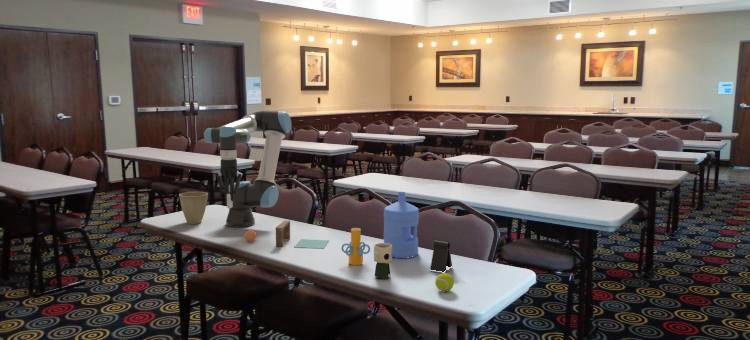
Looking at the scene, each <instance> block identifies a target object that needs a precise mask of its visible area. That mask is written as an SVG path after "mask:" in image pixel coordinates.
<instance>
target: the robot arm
mask: <svg viewBox="0 0 750 340" xmlns="http://www.w3.org/2000/svg"><path fill="white" fill-rule="evenodd" d="M291 119H292V118H291V116H290V114H289V113H288V112H286V111H282V110H259V111H256V112H251V113H249V114H246V115H244V116H243V117H242V118H241V119H238V120H235V121H232V122H230V123H227V124H224V125H221V126H218V127H207V128H206V129H205V130H204V132H203V139H204V141H205V142H206V143H208V144H220V145H219V146H220V147H219V148H220V149H219V152H220V155H219V156H220V157H219V158H220V169H219V171H218V172H216V173H215V174H214V175H215V176H216V178H217V182H218V185H219V190H220V193H222V194H224V200H225V202H226V206H227V207H226V208H227V209H228V213H227V216H226V220H225V225H226V226H227V227H230V228H247V227H251V225H252V226H254V225H255V224H256V223H255V222H256V221H255V217H254V214H253V211H252V207H256V208H264V209H265V208H272V207H273V206H275V205H276V204H277V202H278V199H279V195H280V193H279V188H278V187H277V182H275V177H276V172H277V165H278V161H279V157H280V156H279V155H280V152H281V147H282V146H281V145H282V141H283V140H284V139H285V138H286V134H289V133H290V132H291V129H292V120H291ZM253 132H262V133H264V135H265V141H264V147H263V150H262V151H263V152H262V155H261V161H260V164H259V165H260V167H259V172H258V175H257V178H255V179H254V180H253V181H254V182H253V184H252V183H251V181H249V180H246V181H244V180H243V181H241V179H242V177H243V174H244V173H242V172H239V170H238V160H237V158H238V156H237V155H238V151H237V150H238V149H237V146H238V145H245V144H247V143H249V142H250V141H251V137H252V136H251V133H253ZM222 176H223V177H222ZM235 176H236V180H235ZM223 180H224V181H223ZM253 224H254V225H253ZM246 226H247V227H246Z"/></svg>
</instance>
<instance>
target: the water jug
mask: <svg viewBox="0 0 750 340" xmlns="http://www.w3.org/2000/svg"><path fill="white" fill-rule="evenodd" d="M397 194H398V196H397V199H398V201H396V202H394V203H392V204H389V205H387V206H386V207H385V208H384V209H383V210H384V211H383V222H384V223H383V243H388V244H391V245H392V253H391V255H392V257H395V259H408V258H407V257H411V258H413V257H412V256H414V257H416V256H417V255H418V254H419V238H418V225H419V220H420V211H419V208H418V207H416V206H415V205H413V204H411V203H409V202H407V201H406V192H405V191H400V192H398V193H397ZM415 255H416V256H415Z"/></svg>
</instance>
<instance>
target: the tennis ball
mask: <svg viewBox="0 0 750 340" xmlns="http://www.w3.org/2000/svg"><path fill="white" fill-rule="evenodd" d="M434 283H435V286H436V288H437V289H438V290H439V291H440V290H441V291H440V292H443V291H447V292H449V291H452V289H453V287H454V284H455V282H454V278H453V277H452V275H450V274H449V273H447V272H446V273H439V274H438V275H437V277H436V278H435V282H434Z"/></svg>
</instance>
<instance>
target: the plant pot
mask: <svg viewBox="0 0 750 340" xmlns="http://www.w3.org/2000/svg"><path fill="white" fill-rule="evenodd" d="M208 195H209V193H208V192H204V191H187V192H182V193H179V194H178V196H179V201H180V202H179V203H180V207H181V209H182V213H183V217H184V218H185V221H186V224H188V225H197V224H201V223H202V221H203V219H204V215H205V212H206V207H207V204H208Z"/></svg>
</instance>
